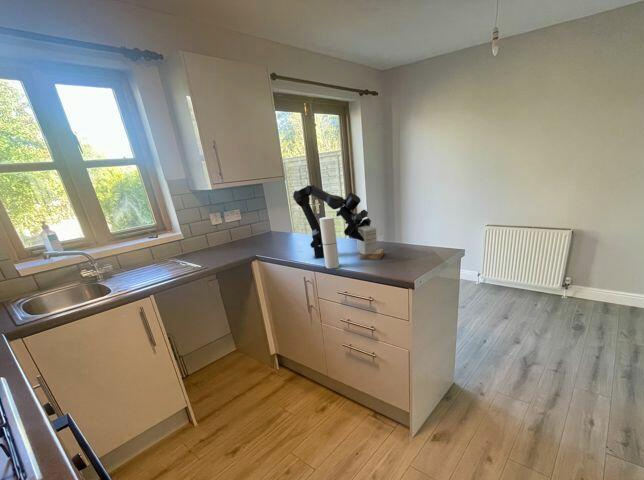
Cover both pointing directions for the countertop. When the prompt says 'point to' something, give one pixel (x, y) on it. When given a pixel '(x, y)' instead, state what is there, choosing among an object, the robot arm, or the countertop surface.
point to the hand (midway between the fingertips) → (368, 238)
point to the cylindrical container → (329, 242)
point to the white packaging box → (367, 240)
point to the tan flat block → (373, 254)
